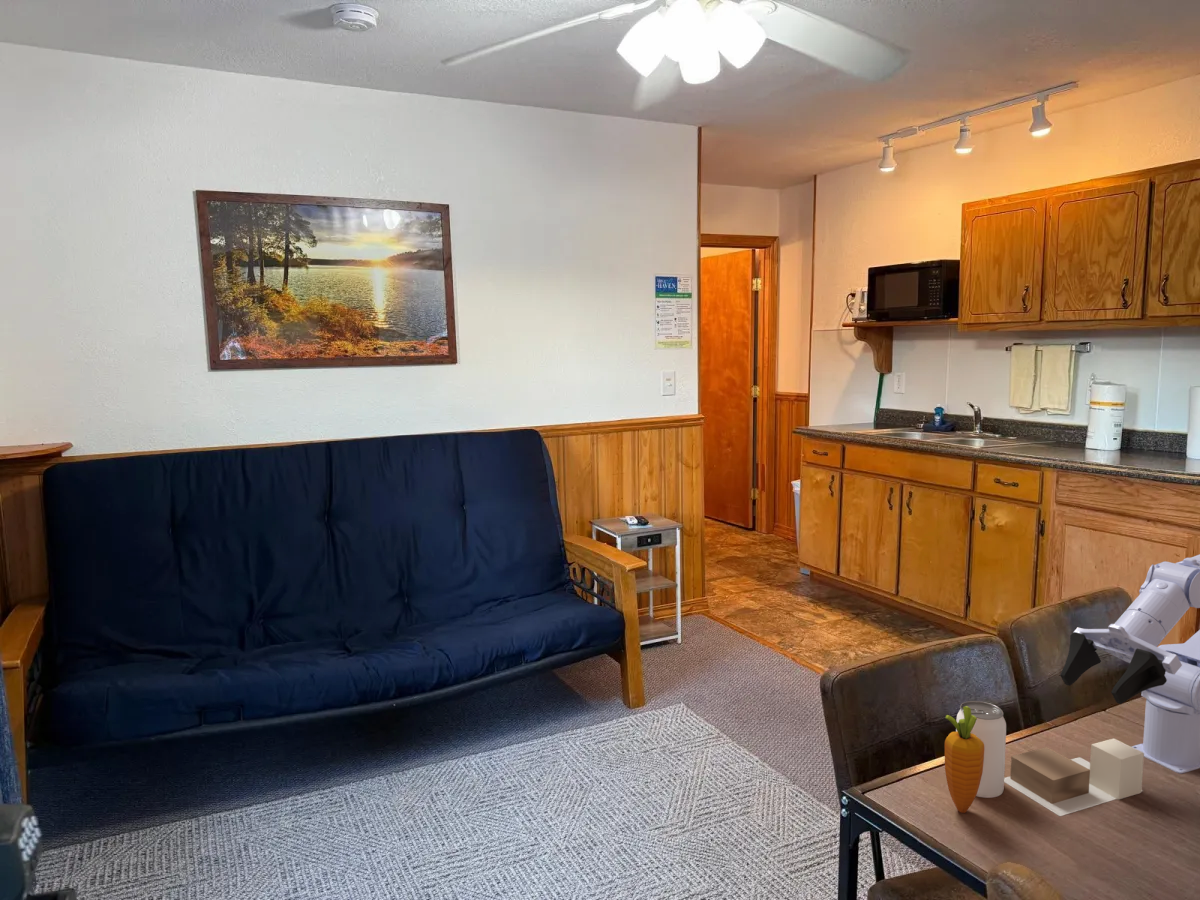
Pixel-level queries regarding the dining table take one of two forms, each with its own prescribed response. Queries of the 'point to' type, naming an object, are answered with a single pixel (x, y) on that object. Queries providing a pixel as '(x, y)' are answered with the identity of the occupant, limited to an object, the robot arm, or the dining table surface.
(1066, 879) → the dining table surface
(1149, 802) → the dining table surface
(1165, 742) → the robot arm
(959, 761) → the carrot
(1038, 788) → the brown block
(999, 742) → the can
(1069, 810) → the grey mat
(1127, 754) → the cream block
